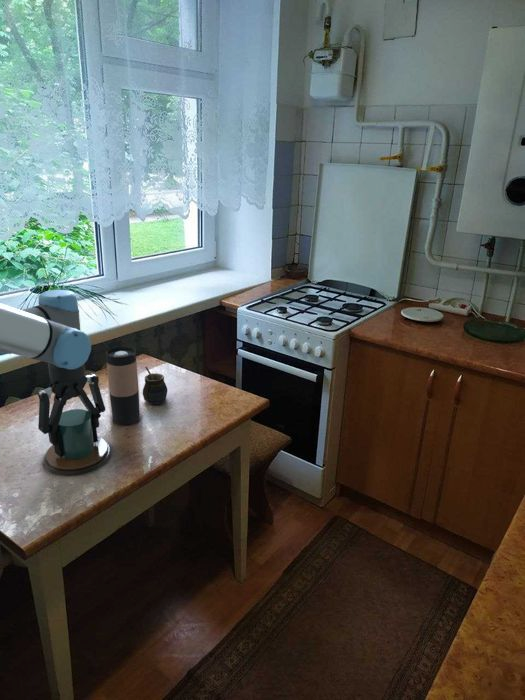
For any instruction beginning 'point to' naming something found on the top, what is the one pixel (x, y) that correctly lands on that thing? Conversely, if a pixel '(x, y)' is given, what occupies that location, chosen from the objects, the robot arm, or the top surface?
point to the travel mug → (123, 385)
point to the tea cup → (77, 442)
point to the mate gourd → (154, 388)
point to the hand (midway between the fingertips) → (76, 446)
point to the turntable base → (78, 471)
